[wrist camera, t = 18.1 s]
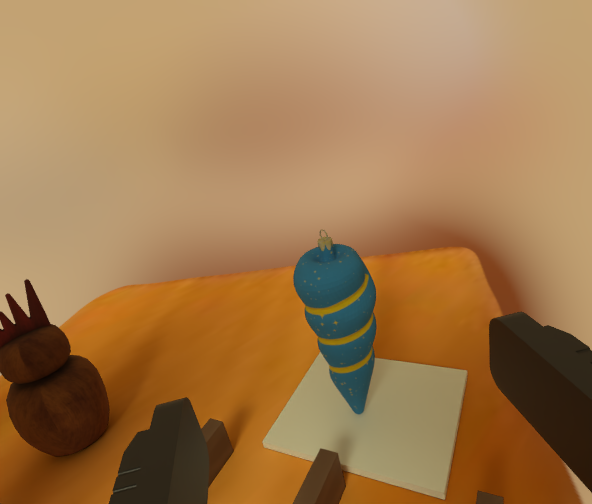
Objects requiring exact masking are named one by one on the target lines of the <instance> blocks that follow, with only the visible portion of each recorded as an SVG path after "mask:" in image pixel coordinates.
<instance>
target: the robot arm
mask: <svg viewBox="0 0 592 504" xmlns="http://www.w3.org/2000/svg"><path fill="white" fill-rule="evenodd" d="M489 345H490V370H491V374H492V376H493V379H494V381H495V383H496V385H497V386H498V388H499V389H500V390H501V392H502V393H503V394H504V395H505V396H506V397H507V398H508V399H509V400H510V402H511V403H512V404H513V405H514V406H515V407H516V408H517V409H518V411H519V412H520V413H521V414H522V415H523V416H524V417H525V418H526V420H527V421H528V422H529V423H530V424H531V425H532V426H533V427H534V428H535V430H536V431H537V432H538V433H539V434H540V435H541V436H542V437H543V439H544V440H545V441H546V442H547V443H548V444H549V445H550V446H551V448H552V449H553V450H554V451H555V452H556V453H557V454H558V455H559V456H560V458H561V459H562V460H563V461H564V462H565V463H566V464H567V465H568V467H569V468H570V469H571V470H572V471H573V472H574V473H575V474H576V475H577V477H578V478H579V479H580V480H581V481H582V482H583V483H584V484H585V486H586V487H587V488H588V489H589V490H590V491H591V492H592V351H591V350H590V348H589V347H588V346H587V345H585V344H584V343H582V342H581V341H580V340H578V339H577V338H576V337H574V336H573V335H571V334H569V333H566V332H564V331H561V330H559V329H556V328H554V327H551V326H544V327H543V326H541V325H540V324H539V323H537V322H536V321H535V320H534V319H532V318H531V317H530V316H528V315H527V314H525V313H523V312H517V313H513V314H509V315H505V316H501V317H498V318H494V319H492V320H491V321H490V324H489ZM208 482H209V454H208V448H207V444H206V441H205V438H204V436H203V433H202V430H201V428H200V425H199V423H198V420H197V418H196V415H195V412H194V410H193V407H192V405H191V402H190V400H189V399H188V398H182V399H178V400H174V401H171V402H167V403H163V404H159V405H157V406H156V407H155V410H154V414H153V418H152V422H151V426H150V429H148V430H145V431H141V432H138V433H137V434H136V436H135V437H134V438H133V440H132V441H131V443H130V444H129V446H128V447H127V449H126V450H125V451H124V454H123V457H122V461H121V464H120V468H119V471H118V477H117V478H116V481H115V484H114V488H113V494H112V495H111V498H110V501H109V504H207V499H208Z"/></svg>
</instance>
